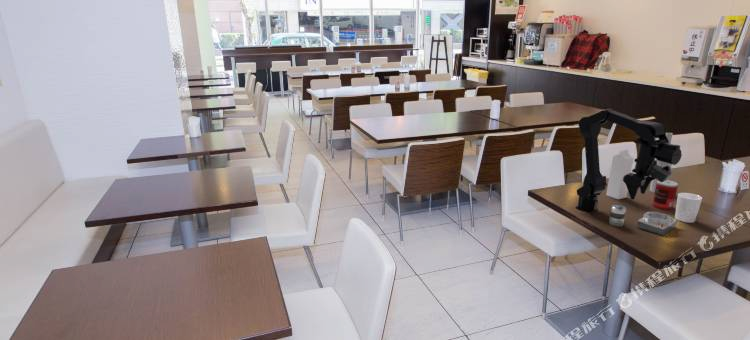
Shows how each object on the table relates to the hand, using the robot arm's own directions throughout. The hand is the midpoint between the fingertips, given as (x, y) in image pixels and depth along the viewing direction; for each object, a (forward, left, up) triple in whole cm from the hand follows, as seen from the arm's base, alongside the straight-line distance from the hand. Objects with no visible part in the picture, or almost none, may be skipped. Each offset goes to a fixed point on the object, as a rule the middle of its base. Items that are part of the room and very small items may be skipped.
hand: (637, 196), depth 167 cm
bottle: (-10, +50, -13) cm, 53 cm away
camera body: (+6, +6, -12) cm, 15 cm away
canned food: (-1, +31, -13) cm, 34 cm away
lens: (-5, -3, -13) cm, 14 cm away
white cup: (+10, +23, -13) cm, 29 cm away
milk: (-19, +28, -13) cm, 36 cm away
